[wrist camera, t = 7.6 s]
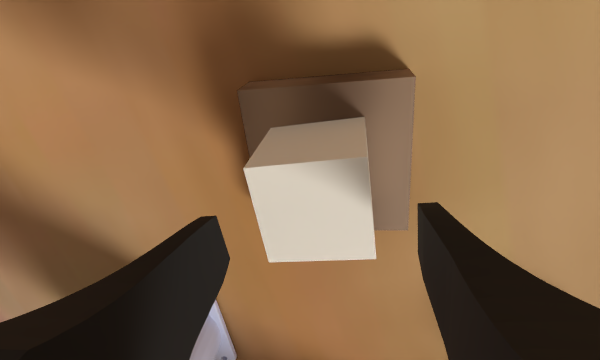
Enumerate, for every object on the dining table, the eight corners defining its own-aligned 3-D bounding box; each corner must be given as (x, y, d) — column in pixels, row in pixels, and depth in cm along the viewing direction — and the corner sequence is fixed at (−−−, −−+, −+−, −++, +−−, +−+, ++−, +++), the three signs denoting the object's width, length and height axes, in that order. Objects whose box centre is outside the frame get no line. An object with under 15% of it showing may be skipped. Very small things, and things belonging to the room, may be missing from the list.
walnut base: (272, 207, 21) (263, 230, 19) (251, 79, 18) (236, 90, 16) (402, 205, 20) (408, 230, 18) (407, 66, 16) (415, 76, 14)
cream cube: (287, 205, 18) (268, 262, 14) (270, 127, 16) (243, 168, 12) (371, 200, 17) (376, 258, 13) (364, 116, 15) (367, 156, 11)
